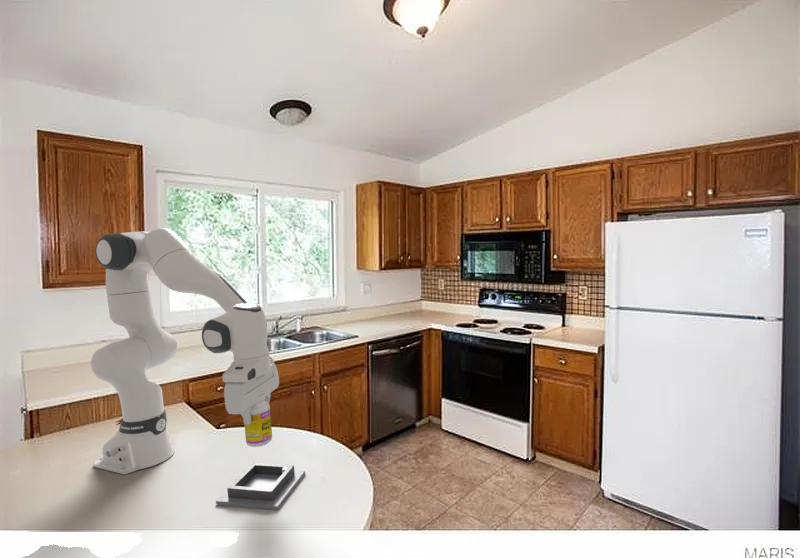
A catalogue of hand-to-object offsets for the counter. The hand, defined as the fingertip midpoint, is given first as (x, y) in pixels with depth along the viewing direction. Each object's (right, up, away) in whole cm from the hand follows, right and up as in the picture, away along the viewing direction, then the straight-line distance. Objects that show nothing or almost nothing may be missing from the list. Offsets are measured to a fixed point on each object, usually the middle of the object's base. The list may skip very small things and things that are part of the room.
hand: (257, 416), depth 110 cm
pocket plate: (+1, -20, +2) cm, 20 cm away
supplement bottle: (0, -7, +1) cm, 7 cm away
